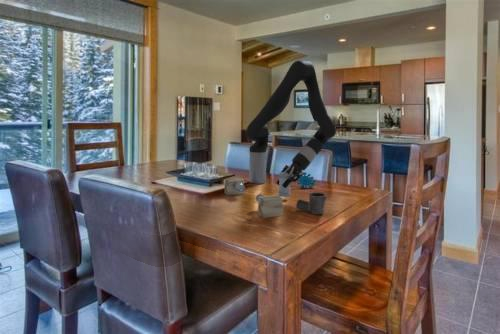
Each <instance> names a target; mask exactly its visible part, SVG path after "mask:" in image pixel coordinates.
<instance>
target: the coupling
mask: <svg viewBox="0 0 500 334" xmlns="http://www.w3.org/2000/svg"><path fill="white" fill-rule="evenodd" d="M289 176H290V173H284V172H283V173H281V172H278V180H279V185H278V192H277V196H280V197H282V198H287V197H290V196H291V192H290V190H291V189H290V187H291V186H290V185H291V183H290V184H289V185H288V186H287V187H286V188H284V187H283V186H282V184H283V183H284V182H285V181H286V180H287V179H288V177H289Z"/></svg>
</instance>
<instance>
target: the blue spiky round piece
mask: <svg viewBox="0 0 500 334" xmlns="http://www.w3.org/2000/svg"><path fill="white" fill-rule="evenodd" d="M303 173H304V175H302V176H301V177H300V178H299V179H298V180H297V181H296V182H297V185H298V186H299V187H301V188H303V187H304V189H305V190H307V189H312V187H314V186H315V184H316V183H317V181H318V180H317V179H314V176H311V174H310V173H308V175H307V172H304V171H303Z"/></svg>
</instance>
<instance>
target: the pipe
mask: <svg viewBox="0 0 500 334" xmlns="http://www.w3.org/2000/svg"><path fill="white" fill-rule="evenodd" d="M308 195H309V201H308V200H304V199H298V200H297V201H296V204H295V205H296V208H297V210H301V211H304V212H305V211H306V212H309V213H311V214H312V215H323V214H324V210H325V209H324V208H325V203H326V200H327V197H328V195H327V194H326V193H324V192H311V193H309V194H308Z"/></svg>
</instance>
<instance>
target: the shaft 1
mask: <svg viewBox="0 0 500 334" xmlns="http://www.w3.org/2000/svg"><path fill="white" fill-rule="evenodd" d="M233 188H234V189H235V190H237V191H239V192H244V193H245V190H246V186H245V184H244V185H242V184H240V183H238V182H234V183H233Z"/></svg>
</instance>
